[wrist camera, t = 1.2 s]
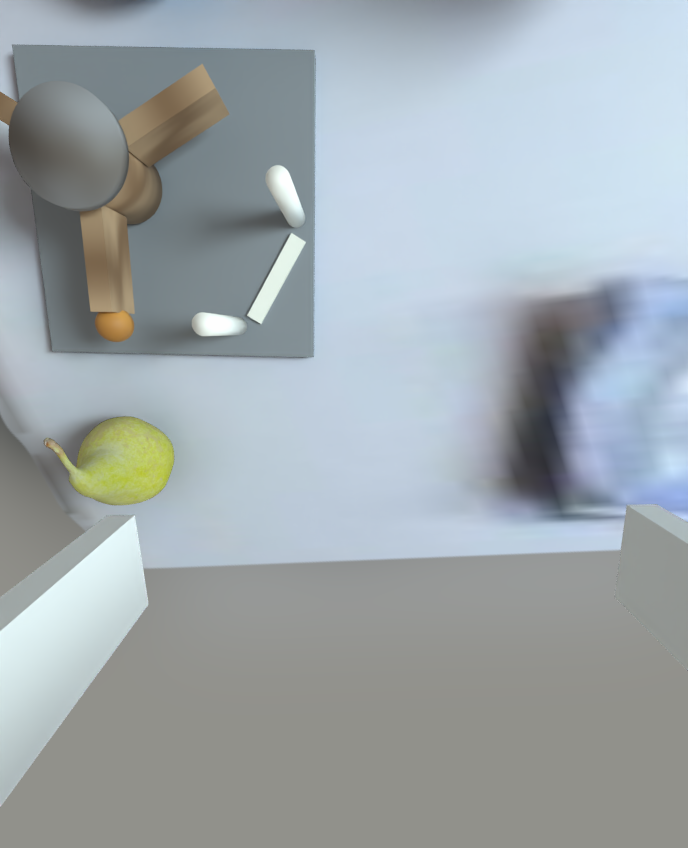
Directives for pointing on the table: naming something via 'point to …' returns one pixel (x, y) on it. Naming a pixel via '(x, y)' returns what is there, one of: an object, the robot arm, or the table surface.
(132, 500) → the fruit
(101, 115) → the capstan
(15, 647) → the robot arm
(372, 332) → the table surface
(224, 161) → the stand
